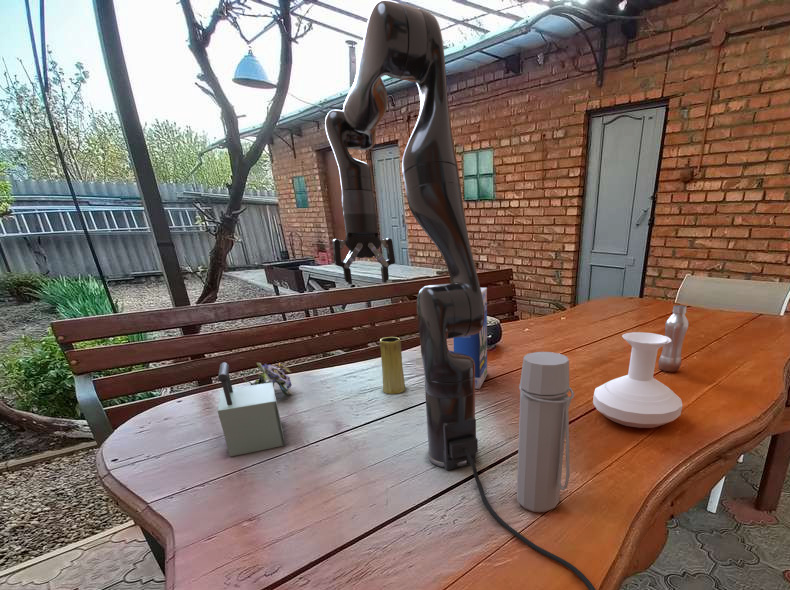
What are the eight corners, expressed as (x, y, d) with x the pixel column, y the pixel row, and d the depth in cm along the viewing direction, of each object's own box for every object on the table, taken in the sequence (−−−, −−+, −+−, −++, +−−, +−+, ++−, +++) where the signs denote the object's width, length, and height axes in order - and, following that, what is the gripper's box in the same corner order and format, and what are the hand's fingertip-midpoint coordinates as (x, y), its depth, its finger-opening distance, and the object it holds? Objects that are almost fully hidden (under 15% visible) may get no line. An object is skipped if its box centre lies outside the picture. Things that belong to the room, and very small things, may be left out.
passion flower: (291, 413, 115) (299, 385, 107) (246, 416, 108) (250, 387, 101) (284, 380, 120) (290, 352, 112) (240, 381, 113) (244, 351, 106)
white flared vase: (605, 394, 114) (613, 323, 107) (684, 410, 105) (700, 334, 97) (579, 422, 98) (587, 341, 91) (670, 444, 89) (688, 356, 81)
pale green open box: (269, 371, 81) (208, 379, 77) (285, 445, 88) (230, 456, 84) (266, 354, 91) (212, 361, 87) (281, 422, 98) (231, 432, 93)
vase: (408, 386, 119) (404, 336, 113) (402, 394, 114) (397, 342, 108) (387, 385, 120) (382, 336, 114) (380, 393, 114) (374, 342, 108)
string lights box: (480, 389, 117) (479, 294, 107) (453, 388, 118) (450, 293, 108) (487, 373, 129) (487, 287, 119) (463, 372, 130) (461, 286, 120)
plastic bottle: (652, 368, 134) (663, 305, 126) (668, 366, 137) (679, 303, 129) (668, 375, 129) (680, 309, 121) (684, 372, 132) (697, 307, 124)
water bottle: (505, 501, 71) (508, 358, 61) (535, 482, 76) (543, 347, 66) (549, 528, 65) (560, 373, 55) (578, 505, 70) (594, 360, 60)
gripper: (330, 211, 94) (340, 286, 100) (394, 212, 100) (399, 283, 106) (326, 212, 100) (335, 283, 106) (385, 213, 106) (391, 280, 112)
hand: (367, 283), depth 106 cm, fingers open, 8 cm apart
